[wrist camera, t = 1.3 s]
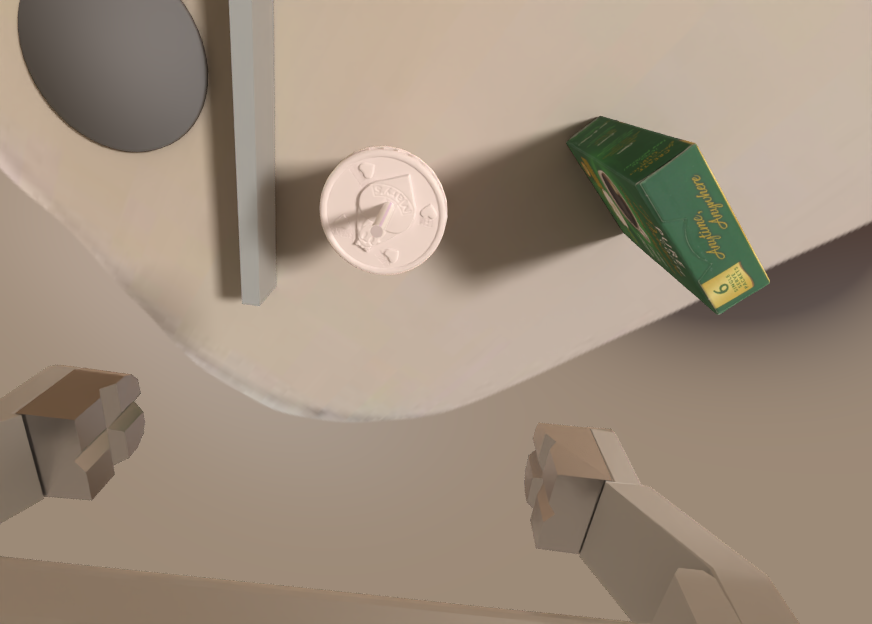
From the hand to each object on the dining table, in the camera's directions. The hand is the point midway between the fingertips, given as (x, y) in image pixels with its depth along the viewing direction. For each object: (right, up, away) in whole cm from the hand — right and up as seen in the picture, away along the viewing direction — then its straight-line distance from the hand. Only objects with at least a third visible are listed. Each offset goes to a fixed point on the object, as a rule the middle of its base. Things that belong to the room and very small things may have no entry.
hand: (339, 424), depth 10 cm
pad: (-18, +18, +20) cm, 32 cm away
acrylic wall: (-9, +14, +22) cm, 27 cm away
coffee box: (+14, +11, +23) cm, 29 cm away
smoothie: (0, +11, +23) cm, 26 cm away
